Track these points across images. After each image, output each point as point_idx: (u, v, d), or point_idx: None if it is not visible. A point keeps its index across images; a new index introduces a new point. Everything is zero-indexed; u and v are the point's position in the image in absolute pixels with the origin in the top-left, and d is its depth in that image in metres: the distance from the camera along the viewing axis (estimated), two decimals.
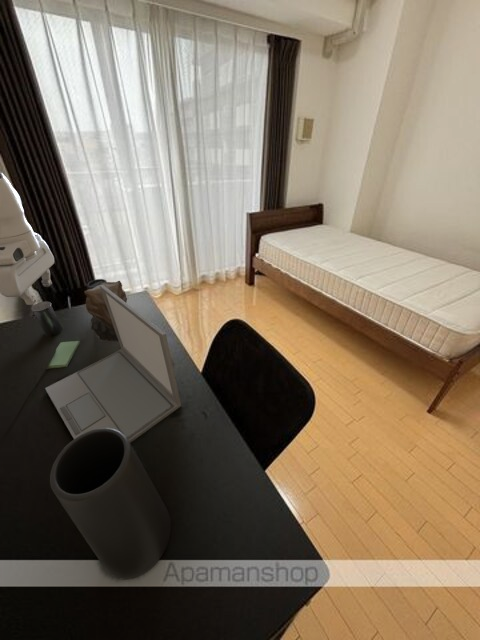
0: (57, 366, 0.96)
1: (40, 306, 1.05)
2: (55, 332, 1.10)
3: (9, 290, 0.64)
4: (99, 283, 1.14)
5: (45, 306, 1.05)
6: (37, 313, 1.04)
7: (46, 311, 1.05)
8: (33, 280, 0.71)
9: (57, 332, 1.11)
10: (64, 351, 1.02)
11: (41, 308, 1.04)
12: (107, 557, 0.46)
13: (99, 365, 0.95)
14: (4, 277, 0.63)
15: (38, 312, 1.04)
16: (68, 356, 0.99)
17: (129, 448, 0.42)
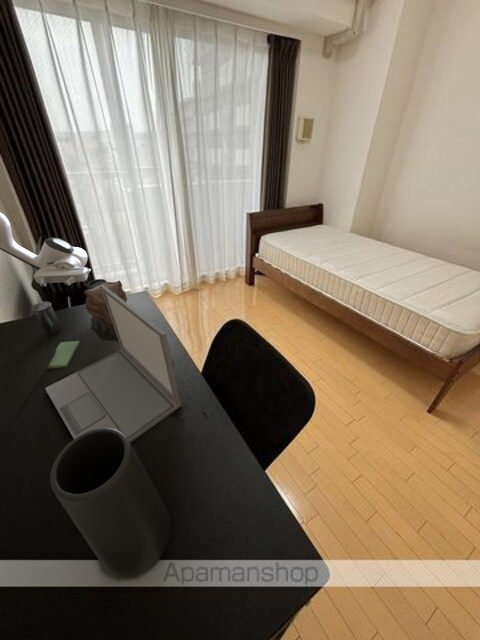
0: (57, 366, 0.96)
1: (40, 306, 1.05)
2: (55, 332, 1.10)
3: None
4: (99, 283, 1.14)
5: (45, 306, 1.05)
6: (37, 313, 1.04)
7: (46, 311, 1.05)
8: (51, 274, 1.18)
9: (57, 332, 1.11)
10: (64, 351, 1.02)
11: (41, 308, 1.04)
12: (107, 557, 0.46)
13: (99, 365, 0.95)
14: None
15: (38, 312, 1.04)
16: (68, 356, 0.99)
17: (129, 448, 0.42)
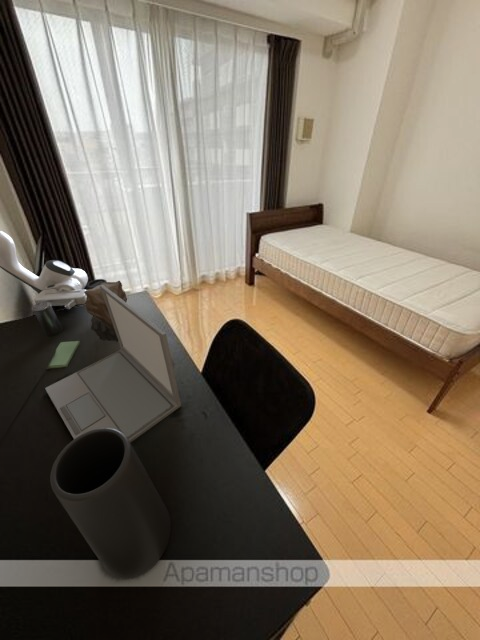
0: (57, 366, 0.96)
1: (40, 306, 1.05)
2: (55, 332, 1.10)
3: None
4: (99, 283, 1.14)
5: (45, 306, 1.05)
6: (37, 313, 1.04)
7: (46, 311, 1.05)
8: (51, 298, 1.18)
9: (57, 332, 1.11)
10: (64, 351, 1.02)
11: (41, 308, 1.04)
12: (107, 557, 0.46)
13: (99, 365, 0.95)
14: None
15: (38, 312, 1.04)
16: (68, 356, 0.99)
17: (129, 448, 0.42)
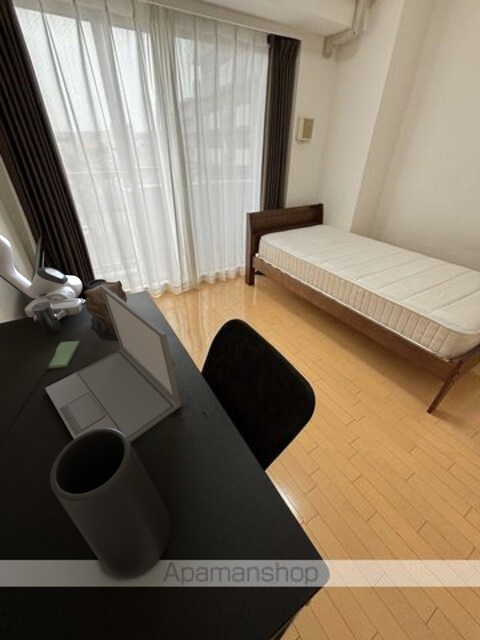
0: (57, 366, 0.96)
1: (40, 306, 1.05)
2: (55, 332, 1.10)
3: None
4: (99, 283, 1.14)
5: (45, 306, 1.05)
6: (37, 313, 1.04)
7: (46, 311, 1.05)
8: None
9: (57, 332, 1.11)
10: (64, 351, 1.02)
11: (41, 308, 1.04)
12: (107, 557, 0.46)
13: (99, 365, 0.95)
14: None
15: (38, 312, 1.04)
16: (68, 356, 0.99)
17: (129, 448, 0.42)
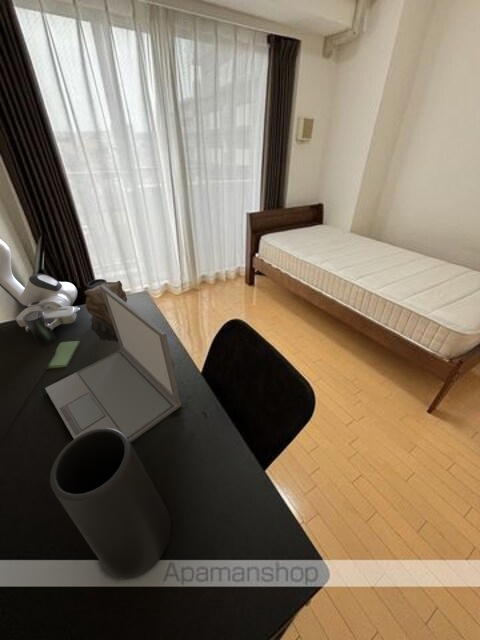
0: (57, 366, 0.96)
1: (32, 316, 1.00)
2: (48, 343, 1.05)
3: None
4: (99, 283, 1.14)
5: (37, 316, 1.00)
6: (29, 323, 0.99)
7: (38, 321, 1.00)
8: None
9: (50, 342, 1.06)
10: (64, 351, 1.02)
11: (33, 318, 0.99)
12: (107, 557, 0.46)
13: (99, 365, 0.95)
14: None
15: (30, 322, 0.99)
16: (68, 356, 0.99)
17: (129, 448, 0.42)
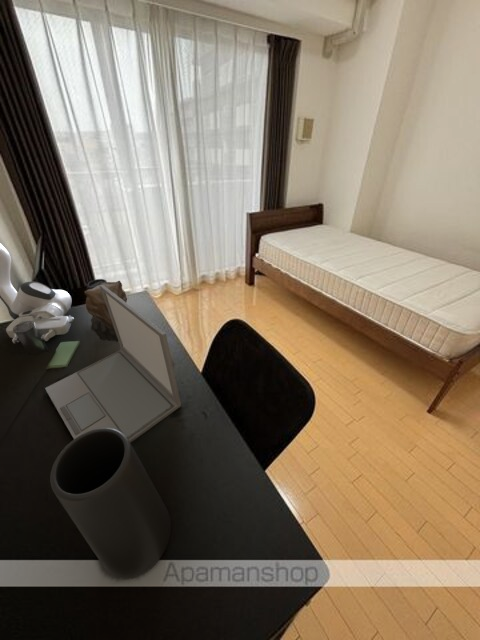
0: (57, 366, 0.96)
1: (22, 327, 0.95)
2: None
3: None
4: (99, 283, 1.14)
5: (28, 327, 0.95)
6: (19, 335, 0.94)
7: (29, 333, 0.95)
8: None
9: None
10: (64, 351, 1.02)
11: (23, 329, 0.94)
12: (107, 557, 0.46)
13: (99, 365, 0.95)
14: None
15: (20, 334, 0.93)
16: (68, 356, 0.99)
17: (129, 448, 0.42)
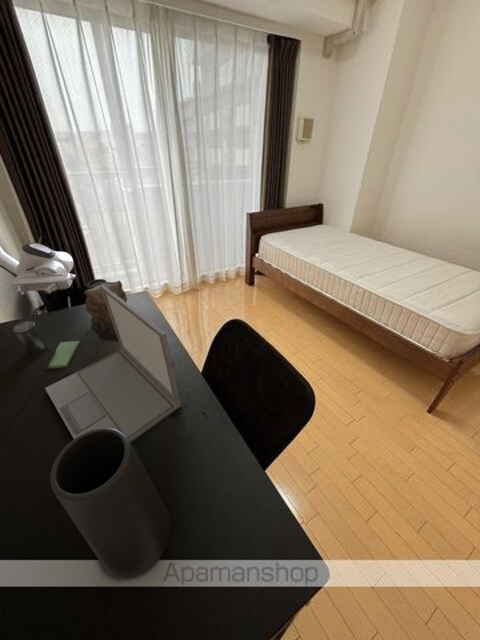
0: (57, 366, 0.96)
1: (22, 327, 0.95)
2: None
3: None
4: (99, 283, 1.14)
5: (28, 327, 0.95)
6: (19, 335, 0.94)
7: (29, 333, 0.95)
8: (29, 281, 1.04)
9: None
10: (64, 351, 1.02)
11: (23, 329, 0.94)
12: (107, 557, 0.46)
13: (99, 365, 0.95)
14: None
15: (20, 334, 0.93)
16: (68, 356, 0.99)
17: (129, 448, 0.42)
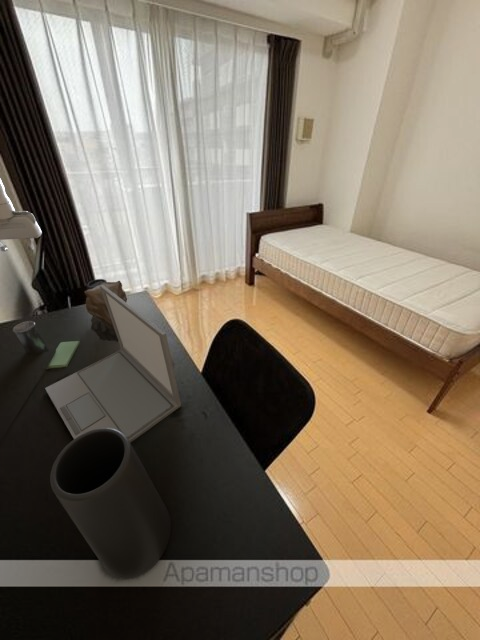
0: (57, 366, 0.96)
1: (22, 327, 0.95)
2: None
3: None
4: (99, 283, 1.14)
5: (28, 327, 0.95)
6: (19, 335, 0.94)
7: (29, 333, 0.95)
8: (0, 237, 1.01)
9: None
10: (64, 351, 1.02)
11: (23, 329, 0.94)
12: (107, 557, 0.46)
13: (99, 365, 0.95)
14: None
15: (20, 334, 0.93)
16: (68, 356, 0.99)
17: (129, 448, 0.42)
